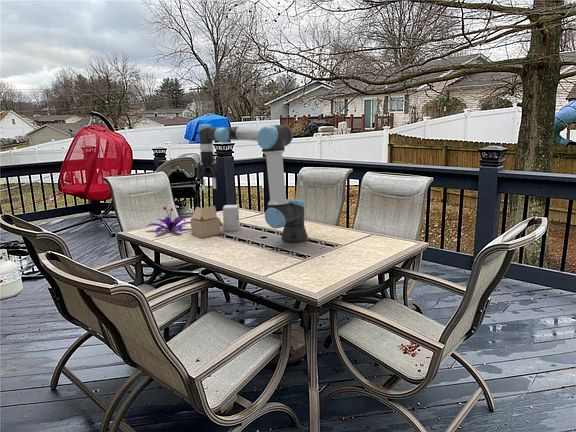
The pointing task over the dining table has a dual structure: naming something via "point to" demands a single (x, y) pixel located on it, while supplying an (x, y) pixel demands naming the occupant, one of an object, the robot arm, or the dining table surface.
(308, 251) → the dining table surface
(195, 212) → the flap left
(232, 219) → the supplement box
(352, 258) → the dining table surface
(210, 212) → the flap near
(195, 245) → the dining table surface
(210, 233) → the carton
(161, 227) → the decorative flower
